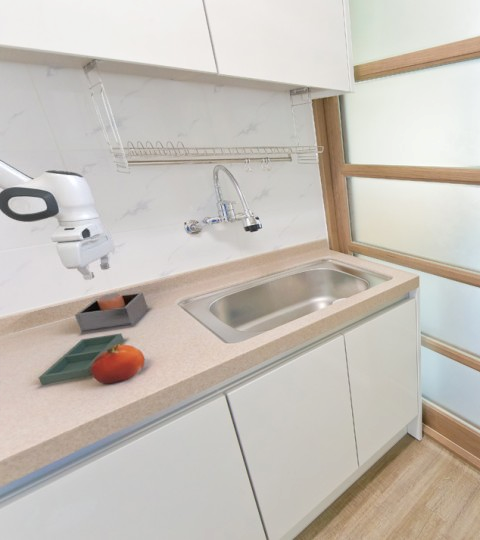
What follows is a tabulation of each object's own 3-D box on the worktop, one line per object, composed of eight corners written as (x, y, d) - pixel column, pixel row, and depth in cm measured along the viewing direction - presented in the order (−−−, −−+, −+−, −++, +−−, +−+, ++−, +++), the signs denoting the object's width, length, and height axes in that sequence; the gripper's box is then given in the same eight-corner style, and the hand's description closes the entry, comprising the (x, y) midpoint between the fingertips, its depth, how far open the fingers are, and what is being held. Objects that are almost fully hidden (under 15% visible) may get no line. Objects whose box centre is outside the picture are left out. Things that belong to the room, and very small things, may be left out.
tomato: (153, 361, 84) (144, 334, 81) (140, 384, 76) (129, 354, 73) (108, 370, 81) (97, 342, 78) (90, 394, 73) (76, 364, 70)
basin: (82, 334, 98) (74, 314, 96) (104, 316, 109) (97, 298, 107) (132, 327, 102) (126, 307, 99) (148, 309, 113) (142, 292, 111)
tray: (42, 386, 76) (38, 377, 75) (85, 347, 91) (81, 339, 90) (91, 378, 78) (87, 369, 77) (124, 341, 94) (121, 333, 93)
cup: (101, 325, 102) (92, 302, 99) (111, 317, 107) (102, 294, 104) (124, 322, 104) (116, 299, 101) (132, 314, 109) (125, 291, 106)
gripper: (89, 223, 104) (103, 264, 108) (45, 237, 85) (64, 286, 90) (113, 221, 105) (126, 262, 110) (76, 235, 87) (93, 283, 92)
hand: (98, 273), depth 100 cm, fingers open, 8 cm apart
